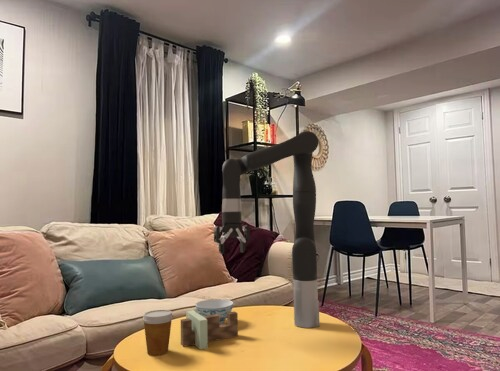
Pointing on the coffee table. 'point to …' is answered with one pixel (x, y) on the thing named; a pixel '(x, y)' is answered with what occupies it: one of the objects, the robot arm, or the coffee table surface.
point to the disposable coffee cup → (157, 331)
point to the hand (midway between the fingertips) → (232, 253)
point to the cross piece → (198, 328)
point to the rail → (210, 328)
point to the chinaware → (215, 308)
